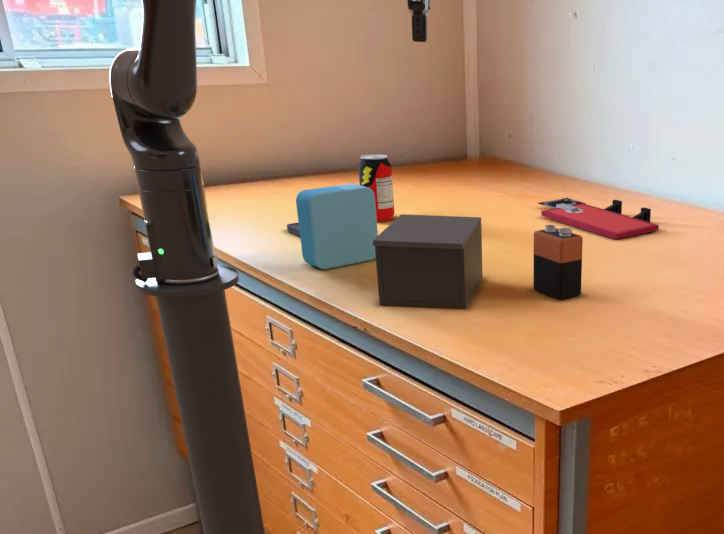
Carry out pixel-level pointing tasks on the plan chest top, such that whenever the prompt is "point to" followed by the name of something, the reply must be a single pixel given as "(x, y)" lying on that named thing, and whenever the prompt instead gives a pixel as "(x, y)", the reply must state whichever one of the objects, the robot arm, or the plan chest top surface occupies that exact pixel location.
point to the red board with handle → (600, 218)
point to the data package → (337, 225)
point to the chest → (429, 274)
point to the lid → (428, 232)
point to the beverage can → (378, 183)
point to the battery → (557, 262)
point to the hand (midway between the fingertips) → (419, 41)
